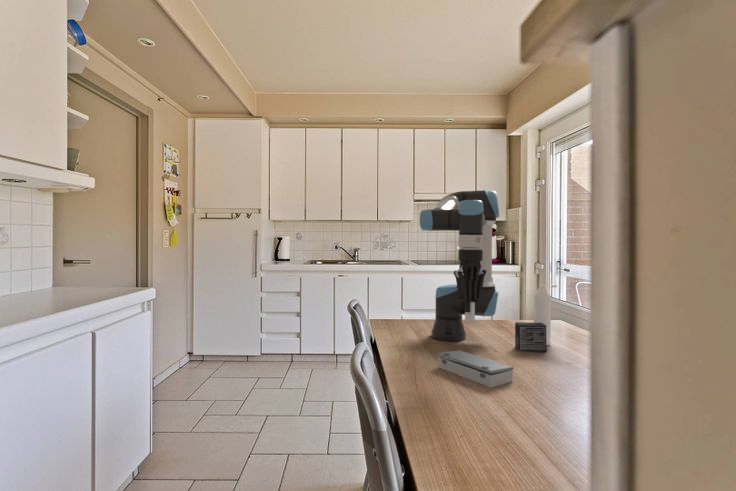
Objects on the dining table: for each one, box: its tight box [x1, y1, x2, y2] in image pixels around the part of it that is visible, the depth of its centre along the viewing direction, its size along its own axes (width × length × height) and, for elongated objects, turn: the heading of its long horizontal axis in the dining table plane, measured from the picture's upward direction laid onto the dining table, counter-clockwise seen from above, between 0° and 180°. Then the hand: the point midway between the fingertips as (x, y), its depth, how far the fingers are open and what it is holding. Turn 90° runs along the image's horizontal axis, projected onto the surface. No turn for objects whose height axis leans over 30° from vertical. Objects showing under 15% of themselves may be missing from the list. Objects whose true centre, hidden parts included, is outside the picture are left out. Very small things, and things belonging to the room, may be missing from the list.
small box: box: [514, 321, 547, 353], centre depth 159 cm, size 11×6×10 cm, turn 84°
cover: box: [438, 349, 514, 374], centre depth 129 cm, size 22×10×1 cm, turn 34°
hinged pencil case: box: [437, 356, 514, 389], centre depth 129 cm, size 22×10×4 cm, turn 34°
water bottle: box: [533, 283, 558, 347], centre depth 168 cm, size 9×6×25 cm
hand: (469, 321), depth 129 cm, fingers closed
